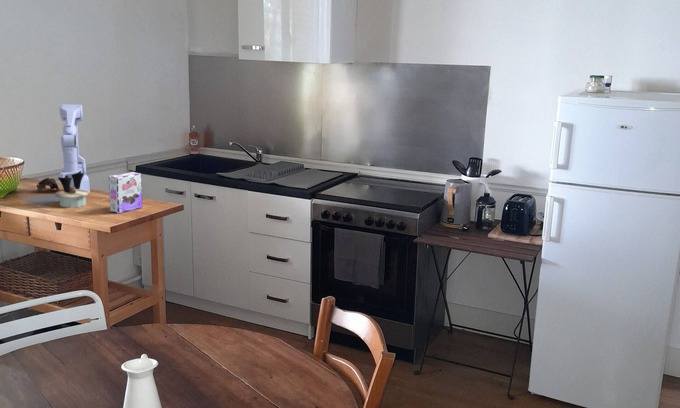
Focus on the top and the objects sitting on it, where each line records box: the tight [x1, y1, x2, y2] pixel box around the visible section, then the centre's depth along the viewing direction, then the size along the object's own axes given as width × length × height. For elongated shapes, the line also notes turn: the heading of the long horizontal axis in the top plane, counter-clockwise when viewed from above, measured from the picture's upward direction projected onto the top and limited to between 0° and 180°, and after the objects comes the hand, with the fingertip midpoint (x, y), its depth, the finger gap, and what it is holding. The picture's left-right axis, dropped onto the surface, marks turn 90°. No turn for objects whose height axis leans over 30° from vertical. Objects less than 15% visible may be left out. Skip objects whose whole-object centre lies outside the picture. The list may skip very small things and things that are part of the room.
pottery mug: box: [36, 177, 61, 192], centre depth 315 cm, size 12×10×8 cm
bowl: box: [59, 196, 87, 209], centre depth 291 cm, size 11×11×5 cm
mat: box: [21, 193, 60, 206], centre depth 298 cm, size 16×16×1 cm
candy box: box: [108, 171, 143, 214], centre depth 286 cm, size 14×6×16 cm, turn 148°
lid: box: [54, 187, 89, 198], centre depth 290 cm, size 14×14×3 cm
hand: (72, 190), depth 290 cm, fingers open, 7 cm apart
